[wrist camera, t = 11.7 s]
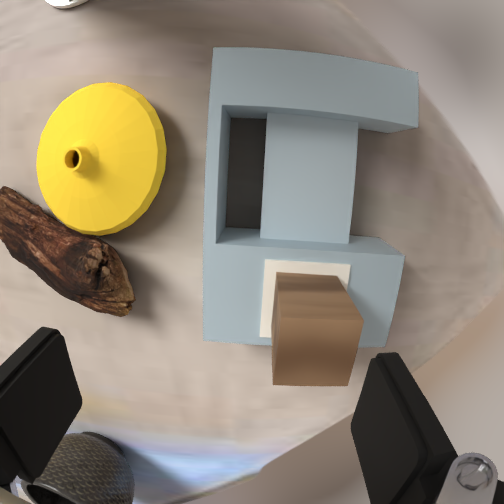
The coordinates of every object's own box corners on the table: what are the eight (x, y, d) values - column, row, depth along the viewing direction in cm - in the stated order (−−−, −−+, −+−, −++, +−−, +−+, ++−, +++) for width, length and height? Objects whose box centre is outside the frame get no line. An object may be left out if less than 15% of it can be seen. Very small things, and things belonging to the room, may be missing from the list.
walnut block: (276, 271, 26) (281, 317, 18) (336, 275, 26) (364, 320, 18) (271, 326, 27) (272, 384, 19) (328, 329, 27) (347, 385, 19)
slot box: (223, 70, 28) (212, 46, 21) (389, 88, 28) (419, 71, 21) (214, 307, 35) (202, 342, 28) (365, 315, 35) (385, 348, 28)
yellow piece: (115, 258, 34) (85, 279, 27) (32, 170, 32) (-6, 175, 25) (206, 148, 31) (191, 144, 24) (107, 62, 28) (75, 45, 21)
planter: (85, 400, 40) (38, 472, 25) (166, 464, 43) (144, 540, 28) (46, 429, 44) (9, 485, 28) (115, 483, 47) (91, 542, 31)
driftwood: (155, 245, 33) (126, 268, 26) (138, 308, 36) (110, 342, 28) (10, 182, 32) (-33, 189, 24) (2, 239, 34) (-37, 254, 26)
